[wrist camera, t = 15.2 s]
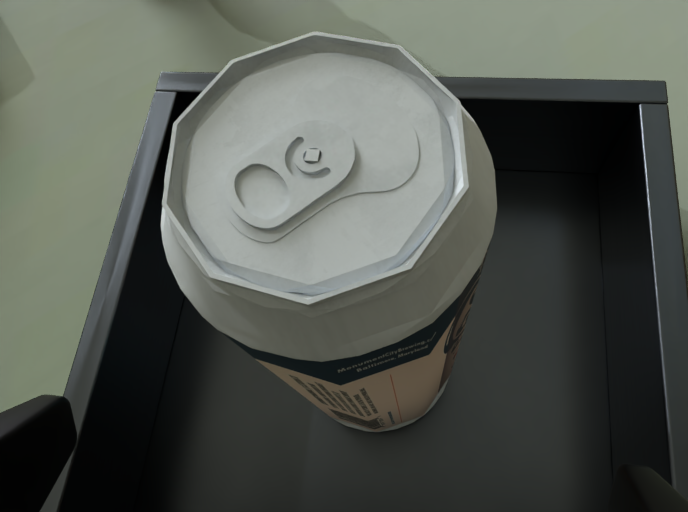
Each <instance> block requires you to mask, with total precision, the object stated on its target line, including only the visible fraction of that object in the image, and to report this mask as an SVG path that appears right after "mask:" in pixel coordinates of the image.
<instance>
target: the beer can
mask: <svg viewBox="0 0 688 512" xmlns="http://www.w3.org/2000/svg"><path fill="white" fill-rule="evenodd" d="M162 206H163V207H162V215H161V232H162V241H163V246H164V250H165V254H166V258H167V262H168V264H169V266H170V268H171V270H172V272H173V274H174V276H175V278H176V280H177V283H178V285H179V287H180V289H181V291H182V292H183V293H184V294H185V296H186V297H187V298H188V299H189V301H190V302H191V303H192V304H193V306H194V307H195V308H196V309H197V310H198V312H199V313H200V314H201V315H202V317H203V318H205V319H206V320H207V321H208V322H209V323H210V324H211V325H213V326H214V327H215V328H216V329H217V330H218V331H220V332H221V333H222V334H224V335H225V336H226V337H227V338H229V339H230V340H231V341H233V342H234V343H235V344H236V345H238V346H239V347H240V348H242V349H243V350H244V351H246V352H247V353H248V354H249V355H251V356H252V357H253V358H255V359H256V360H257V361H258V362H260V363H261V364H262V365H264V366H265V367H266V368H267V369H269V370H270V371H271V372H273V373H274V374H275V375H277V376H278V377H279V378H280V379H282V380H283V381H284V382H286V383H287V384H288V385H289V386H291V387H292V388H293V389H295V390H296V391H297V392H299V393H300V394H301V395H302V396H304V397H305V398H306V399H308V400H309V401H310V402H311V403H313V404H314V405H315V406H317V407H318V408H319V409H320V410H322V411H323V412H324V413H326V414H327V415H328V416H330V417H331V418H333V419H334V420H336V421H338V422H340V423H342V424H344V425H345V426H348V427H352V428H356V429H359V430H363V431H369V432H382V431H388V430H394V429H398V428H400V427H403V426H405V425H408V424H411V423H413V422H414V421H416V420H417V419H419V418H420V417H422V416H424V415H425V414H426V413H427V412H428V411H429V410H430V409H431V408H432V407H433V406H434V404H435V403H436V402H437V400H438V399H439V397H440V396H441V394H442V393H443V391H444V389H445V386H446V384H447V382H448V379H449V377H450V374H451V371H452V367H453V364H454V361H455V358H456V354H457V351H458V348H459V344H460V341H461V338H462V334H463V331H464V328H465V325H466V321H467V318H468V315H469V311H470V308H471V305H472V302H473V298H474V295H475V292H476V288H477V285H478V282H479V279H480V275H481V272H482V269H483V265H484V262H485V259H486V256H487V252H488V249H489V246H490V242H491V239H492V236H493V232H494V225H495V219H496V213H497V197H496V182H495V169H494V165H493V161H492V157H491V154H490V152H489V149H488V147H487V145H486V143H485V140H484V138H483V136H482V133H481V131H480V129H479V128H478V126H477V124H476V123H475V121H474V119H473V118H472V117H471V116H470V115H469V113H468V112H467V111H466V110H465V109H464V107H463V106H462V105H461V102H460V101H459V100H458V99H457V98H456V97H455V96H454V95H453V94H452V93H451V92H450V91H449V90H448V89H447V88H445V87H444V86H443V85H442V84H441V83H440V82H439V81H438V80H437V79H436V78H435V77H434V76H433V75H432V74H430V73H429V72H428V71H427V70H426V69H425V68H424V67H423V66H422V65H421V64H420V63H419V62H418V61H417V60H415V59H414V58H413V57H412V56H411V55H410V54H409V53H408V52H407V51H406V50H405V49H404V48H403V47H401V46H400V45H397V44H390V43H384V42H378V41H372V40H366V39H360V38H353V37H347V36H341V35H335V34H329V33H323V32H316V31H314V32H311V33H308V34H305V35H302V36H299V37H296V38H294V39H291V40H288V41H285V42H282V43H279V44H276V45H273V46H270V47H267V48H264V49H262V50H259V51H256V52H253V53H250V54H247V55H244V56H241V57H238V58H235V59H233V60H231V61H230V62H229V63H228V64H227V65H226V66H225V67H224V68H223V69H222V71H221V72H220V73H219V74H218V75H217V76H216V77H215V78H214V79H213V80H212V81H211V83H210V84H209V85H208V86H207V87H206V88H205V89H204V90H203V91H202V92H201V93H200V95H199V96H198V97H197V98H196V99H195V100H194V101H193V102H192V103H191V104H190V105H189V107H188V108H187V109H186V110H185V111H184V112H183V113H182V114H181V115H180V116H179V117H178V119H177V120H176V121H175V122H174V123H173V128H172V135H171V142H170V149H169V154H168V160H167V166H166V172H165V179H164V192H163V199H162Z"/></svg>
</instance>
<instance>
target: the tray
mask: <svg viewBox="0 0 688 512" xmlns="http://www.w3.org/2000/svg"><path fill="white" fill-rule="evenodd" d="M218 74H219V73H204V72H161V73H160V77H159V80H158V83H157V87H156V92H155V93H154V96H153V100H152V103H151V106H150V110H149V113H148V116H147V119H146V123H145V126H144V129H143V133H142V136H141V139H140V143H139V146H138V149H137V153H136V156H135V159H134V163H133V166H132V169H131V173H130V176H129V179H128V183H127V186H126V189H125V192H124V196H123V199H122V202H121V206H120V209H119V212H118V216H117V219H116V222H115V226H114V229H113V232H112V236H111V239H110V242H109V246H108V249H107V252H106V255H105V259H104V262H103V265H102V269H101V272H100V275H99V279H98V282H97V285H96V289H95V292H94V295H93V299H92V302H91V305H90V309H89V312H88V315H87V319H86V322H85V325H84V328H83V332H82V335H81V338H80V342H79V345H78V348H77V352H76V355H75V358H74V362H73V365H72V368H71V372H70V375H69V378H68V382H67V385H66V388H65V392H64V395H63V397H65V398H67V399H68V400H69V402H70V404H71V409H72V413H73V417H74V422H75V426H76V431H77V442H76V446H75V448H74V451H73V452H72V454H71V456H70V458H69V460H68V461H67V463H66V465H65V467H64V469H63V471H62V472H61V474H60V476H59V478H58V480H57V481H56V483H55V485H54V487H53V489H52V490H51V492H50V494H49V496H48V498H47V499H46V501H45V503H44V505H43V507H42V508H41V510H40V512H607V507H608V501H609V497H610V493H611V489H612V485H613V481H614V477H615V473H616V470H617V468H618V466H619V465H621V464H633V465H642V466H647V467H650V468H651V469H653V470H654V471H655V472H656V473H658V474H659V475H660V476H661V477H662V478H663V479H664V480H665V481H666V482H668V483H669V484H670V485H671V486H672V487H673V488H674V489H675V490H676V491H678V492H679V493H680V494H681V495H682V496H683V497H684V498H685V499H686V500H688V284H687V274H686V265H685V256H684V247H683V238H682V229H681V220H680V210H679V201H678V192H677V183H676V174H675V165H674V156H673V146H672V137H671V128H670V119H669V110H668V105H667V103H668V97H667V88H666V82H665V81H649V80H593V79H538V78H482V77H435V78H436V79H437V80H438V81H439V82H440V83H441V84H442V85H443V86H444V87H445V88H447V89H448V90H449V91H450V92H451V93H452V94H453V95H454V96H455V97H456V98H457V99H458V100H459V101H460V102H461V105H462V106H463V107H464V109H465V110H466V111H467V112H468V113H469V115H470V116H471V117H472V118H473V119H474V121H475V123H476V124H477V126H478V128H479V129H480V131H481V133H482V136H483V138H484V140H485V143H486V145H487V147H488V149H489V152H490V154H491V157H492V161H493V165H494V169H495V182H496V197H497V213H496V219H495V225H494V232H493V236H492V239H491V242H490V246H489V249H488V252H487V256H486V259H485V262H484V265H483V269H482V272H481V275H480V279H479V282H478V285H477V288H476V292H475V295H474V298H473V302H472V305H471V308H470V311H469V315H468V318H467V321H466V325H465V328H464V331H463V334H462V338H461V341H460V344H459V348H458V351H457V354H456V358H455V361H454V364H453V367H452V371H451V374H450V377H449V379H448V382H447V384H446V386H445V389H444V391H443V393H442V394H441V396H440V397H439V399H438V400H437V402H436V403H435V404H434V406H433V407H432V408H431V409H430V410H429V411H428V412H427V413H426V414H425V415H424V416H422V417H420V418H419V419H417V420H416V421H414V422H413V423H411V424H408V425H405V426H403V427H400V428H398V429H394V430H388V431H382V432H369V431H363V430H359V429H356V428H352V427H348V426H345V425H344V424H342V423H340V422H338V421H336V420H334V419H333V418H331V417H330V416H328V415H327V414H326V413H324V412H323V411H322V410H320V409H319V408H318V407H317V406H315V405H314V404H313V403H311V402H310V401H309V400H308V399H306V398H305V397H304V396H302V395H301V394H300V393H299V392H297V391H296V390H295V389H293V388H292V387H291V386H289V385H288V384H287V383H286V382H284V381H283V380H282V379H280V378H279V377H278V376H277V375H275V374H274V373H273V372H271V371H270V370H269V369H267V368H266V367H265V366H264V365H262V364H261V363H260V362H258V361H257V360H256V359H255V358H253V357H252V356H251V355H249V354H248V353H247V352H246V351H244V350H243V349H242V348H240V347H239V346H238V345H236V344H235V343H234V342H233V341H231V340H230V339H229V338H227V337H226V336H225V335H224V334H222V333H221V332H220V331H218V330H217V329H216V328H215V327H214V326H213V325H211V324H210V323H209V322H208V321H207V320H206V319H205V318H203V317H202V315H201V314H200V313H199V312H198V310H197V309H196V308H195V307H194V306H193V304H192V303H191V302H190V301H189V299H188V298H187V297H186V296H185V294H184V293H183V292H182V291H181V289H180V287H179V285H178V283H177V280H176V278H175V276H174V274H173V272H172V270H171V268H170V266H169V264H168V262H167V258H166V254H165V250H164V246H163V241H162V232H161V215H162V207H163V206H162V199H163V192H164V179H165V172H166V166H167V160H168V154H169V149H170V142H171V135H172V128H173V123H174V122H175V121H176V120H177V119H178V117H179V116H180V115H181V114H182V113H183V112H184V111H185V110H186V109H187V108H188V107H189V105H190V104H191V103H192V102H193V101H194V100H195V99H196V98H197V97H198V96H199V95H200V93H201V92H202V91H203V90H204V89H205V88H206V87H207V86H208V85H209V84H210V83H211V81H212V80H213V79H214V78H215V77H216V76H217V75H218Z"/></svg>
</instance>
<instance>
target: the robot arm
mask: <svg viewBox="0 0 688 512" xmlns="http://www.w3.org/2000/svg"><path fill="white" fill-rule="evenodd" d="M76 442H77V431H76V426H75V422H74V417H73V413H72V409H71V404H70V402H69V400H68V399H67V398H65V397H63V396H55V395H41V396H38V397H36V398H34V399H31V400H29V401H27V402H24V403H22V404H20V405H18V406H15V407H13V408H11V409H8V410H6V411H4V412H1V413H0V512H40V510H41V508H42V507H43V505H44V503H45V501H46V499H47V498H48V496H49V494H50V492H51V490H52V489H53V487H54V485H55V483H56V481H57V480H58V478H59V476H60V474H61V472H62V471H63V469H64V467H65V465H66V463H67V461H68V460H69V458H70V456H71V454H72V452H73V451H74V448H75V446H76ZM607 512H688V500H686V499H685V498H684V497H683V496H682V495H681V494H680V493H679V492H678V491H676V490H675V489H674V488H673V487H672V486H671V485H670V484H669V483H668V482H666V481H665V480H664V479H663V478H662V477H661V476H660V475H659V474H658V473H656V472H655V471H654V470H653V469H651V468H650V467H647V466H642V465H633V464H621V465H619V466H618V468H617V470H616V473H615V477H614V481H613V485H612V489H611V493H610V497H609V501H608V507H607Z"/></svg>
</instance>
